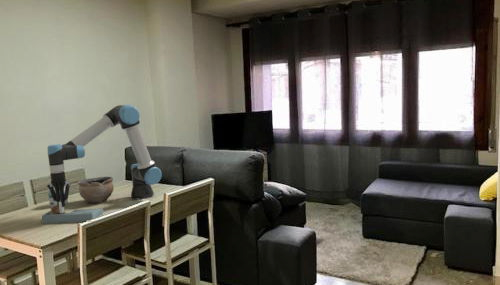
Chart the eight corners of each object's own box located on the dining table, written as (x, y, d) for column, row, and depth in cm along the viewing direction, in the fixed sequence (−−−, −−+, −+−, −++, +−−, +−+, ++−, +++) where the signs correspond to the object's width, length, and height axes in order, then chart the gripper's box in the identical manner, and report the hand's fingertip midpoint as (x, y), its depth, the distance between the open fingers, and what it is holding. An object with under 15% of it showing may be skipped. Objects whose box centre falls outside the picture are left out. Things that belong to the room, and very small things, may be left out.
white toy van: (58, 207, 270) (56, 190, 269) (49, 207, 272) (47, 191, 270) (68, 202, 281) (67, 187, 279) (59, 202, 282) (58, 187, 281)
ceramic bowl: (81, 207, 265) (79, 184, 263) (78, 200, 284) (76, 179, 282) (117, 201, 275) (115, 179, 273) (112, 195, 294) (110, 174, 292)
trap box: (104, 212, 250) (103, 205, 249) (92, 221, 234) (91, 213, 234) (56, 214, 252) (56, 207, 251) (42, 223, 236) (41, 215, 235)
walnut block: (64, 213, 243) (63, 204, 243) (60, 215, 238) (59, 207, 238) (56, 213, 243) (55, 205, 243) (51, 216, 239) (50, 207, 238)
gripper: (71, 170, 240) (76, 210, 243) (49, 171, 240) (54, 211, 243) (65, 172, 232) (70, 213, 235) (42, 173, 233) (47, 214, 236)
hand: (62, 212), depth 239 cm, fingers closed
